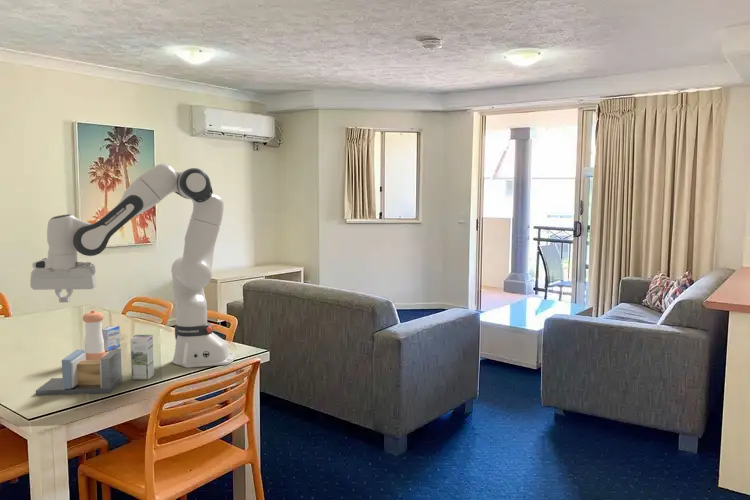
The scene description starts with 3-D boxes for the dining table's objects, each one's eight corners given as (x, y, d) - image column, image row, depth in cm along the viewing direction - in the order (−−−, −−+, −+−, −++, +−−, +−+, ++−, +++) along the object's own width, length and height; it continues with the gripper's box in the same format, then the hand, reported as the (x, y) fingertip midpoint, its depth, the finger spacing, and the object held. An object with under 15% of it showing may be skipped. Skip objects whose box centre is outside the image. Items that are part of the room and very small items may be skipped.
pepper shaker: (85, 358, 219) (83, 309, 217) (106, 357, 222) (104, 307, 220) (82, 364, 213) (80, 312, 211) (104, 362, 215) (102, 311, 213)
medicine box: (108, 351, 230) (107, 330, 229) (98, 350, 231) (97, 329, 230) (120, 346, 237) (120, 325, 237) (111, 345, 238) (110, 325, 237)
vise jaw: (87, 376, 193) (86, 349, 192) (73, 388, 181) (72, 359, 180) (77, 376, 193) (76, 349, 192) (62, 388, 181) (61, 360, 180)
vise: (121, 380, 195) (120, 348, 194) (110, 393, 183) (109, 358, 182) (52, 382, 192) (50, 350, 191) (35, 395, 180) (34, 360, 179)
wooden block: (82, 381, 189) (81, 360, 189) (108, 380, 190) (107, 359, 190) (78, 385, 185) (77, 363, 185) (104, 384, 186) (103, 363, 186)
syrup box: (154, 374, 201) (153, 333, 200) (148, 380, 196) (147, 338, 194) (137, 374, 201) (136, 333, 200) (131, 380, 195) (129, 338, 194)
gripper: (98, 261, 202) (99, 300, 204) (35, 261, 200) (37, 300, 201) (91, 263, 196) (93, 303, 198) (27, 263, 194) (29, 304, 195)
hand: (64, 302), depth 199 cm, fingers closed
